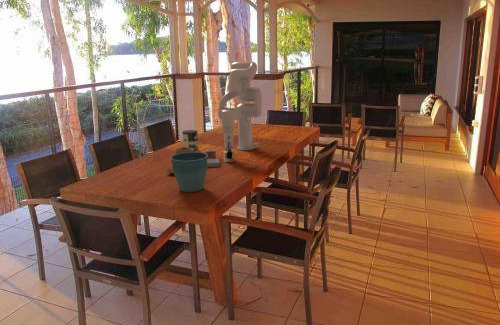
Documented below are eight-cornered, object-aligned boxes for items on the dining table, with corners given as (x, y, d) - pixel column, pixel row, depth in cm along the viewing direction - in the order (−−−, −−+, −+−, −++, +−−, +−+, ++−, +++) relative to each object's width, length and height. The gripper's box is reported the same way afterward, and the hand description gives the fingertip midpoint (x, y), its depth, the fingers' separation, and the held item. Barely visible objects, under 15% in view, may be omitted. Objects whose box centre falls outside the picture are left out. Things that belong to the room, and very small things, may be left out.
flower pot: (189, 197, 208) (187, 162, 204) (165, 190, 220) (163, 157, 216) (216, 188, 221) (215, 155, 217) (192, 181, 233) (191, 150, 229)
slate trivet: (218, 162, 272) (218, 158, 272) (219, 166, 263) (219, 162, 262) (202, 163, 271) (202, 159, 270) (203, 167, 261) (202, 163, 261)
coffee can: (200, 150, 307) (199, 130, 304) (195, 153, 298) (194, 132, 294) (186, 149, 309) (185, 129, 306) (181, 153, 300) (180, 132, 296)
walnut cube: (215, 158, 284) (214, 149, 282) (216, 160, 278) (215, 151, 276) (206, 158, 283) (205, 149, 281) (206, 160, 277) (206, 151, 275)
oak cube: (233, 159, 279) (233, 150, 278) (234, 161, 274) (234, 152, 272) (223, 159, 278) (223, 150, 277) (224, 162, 273) (224, 152, 271)
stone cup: (199, 171, 253) (197, 145, 250) (191, 176, 242) (189, 150, 239) (174, 169, 257) (173, 144, 254) (165, 175, 246) (164, 149, 243)
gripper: (235, 131, 263) (236, 159, 267) (232, 127, 280) (233, 153, 284) (223, 132, 262) (224, 160, 266) (220, 127, 279) (221, 154, 283)
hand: (228, 156), depth 275 cm, fingers open, 9 cm apart
